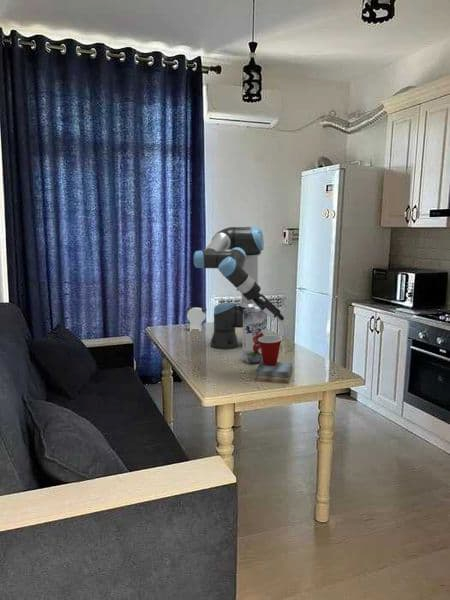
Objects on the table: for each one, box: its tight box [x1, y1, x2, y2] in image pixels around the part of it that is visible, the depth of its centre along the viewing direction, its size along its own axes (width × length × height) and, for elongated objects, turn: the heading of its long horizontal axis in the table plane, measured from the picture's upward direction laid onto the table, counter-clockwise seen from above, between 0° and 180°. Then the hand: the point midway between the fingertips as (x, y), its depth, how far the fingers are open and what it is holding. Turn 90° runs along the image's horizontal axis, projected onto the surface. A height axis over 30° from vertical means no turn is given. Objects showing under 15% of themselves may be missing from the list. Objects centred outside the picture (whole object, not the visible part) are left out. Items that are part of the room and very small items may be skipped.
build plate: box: [254, 361, 293, 385], centre depth 202 cm, size 14×20×4 cm
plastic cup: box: [258, 334, 283, 366], centre depth 204 cm, size 11×11×12 cm
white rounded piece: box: [186, 306, 207, 331], centre depth 286 cm, size 12×11×15 cm
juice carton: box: [242, 307, 268, 365], centre depth 221 cm, size 9×10×27 cm
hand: (280, 321), depth 199 cm, fingers open, 13 cm apart
